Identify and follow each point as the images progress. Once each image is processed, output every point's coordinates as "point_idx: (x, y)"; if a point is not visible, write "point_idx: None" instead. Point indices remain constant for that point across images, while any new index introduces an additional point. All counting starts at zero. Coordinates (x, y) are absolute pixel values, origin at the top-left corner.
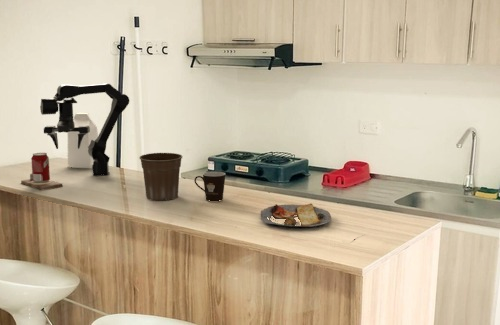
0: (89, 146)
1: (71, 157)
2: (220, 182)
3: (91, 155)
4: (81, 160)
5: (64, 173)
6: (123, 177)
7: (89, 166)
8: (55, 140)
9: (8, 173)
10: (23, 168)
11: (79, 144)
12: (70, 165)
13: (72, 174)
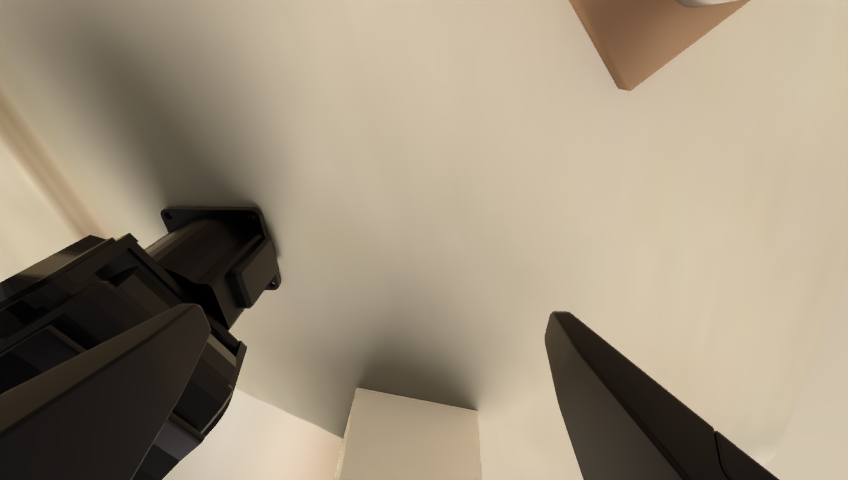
0: (157, 441)
1: (458, 463)
2: None
3: (153, 297)
4: (400, 436)
5: (470, 291)
6: (17, 143)
7: (361, 397)
8: (696, 478)
9: (807, 315)
10: (697, 407)
11: (85, 357)
12: (463, 418)
13: (414, 262)
